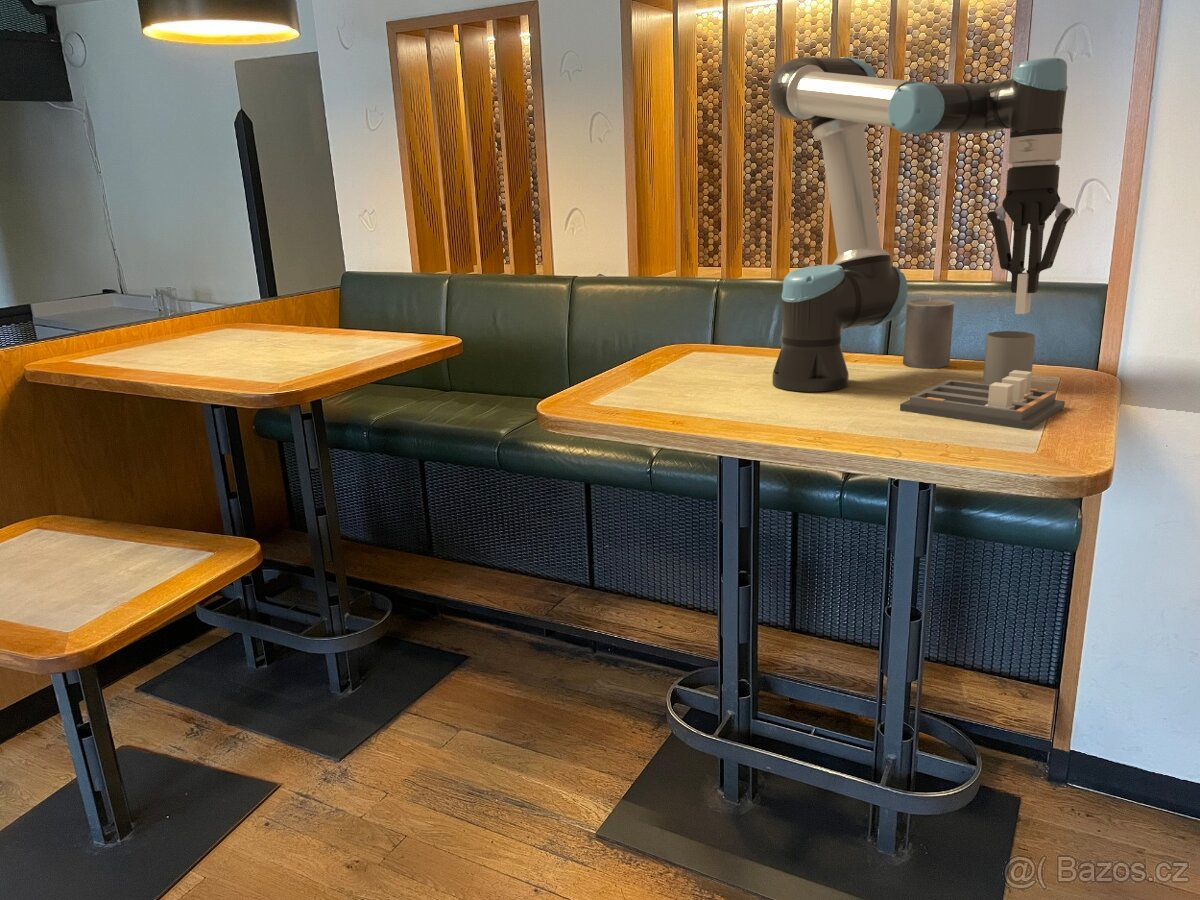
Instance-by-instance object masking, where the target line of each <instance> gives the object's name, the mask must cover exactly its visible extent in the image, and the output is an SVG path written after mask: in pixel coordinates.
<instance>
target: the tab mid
mask: <svg viewBox="0 0 1200 900" xmlns="http://www.w3.org/2000/svg"><path fill="white" fill-rule="evenodd" d="M1025 382H1026V378H1019V377H1010V376H1007V377H1005V378H1003V379H1002V383H1006V384H1014V389H1013V399H1012V401H1016V402H1023V403H1027V399H1024V391H1025Z"/></svg>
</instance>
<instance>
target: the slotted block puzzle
mask: <svg viewBox="0 0 1200 900" xmlns="http://www.w3.org/2000/svg"><path fill="white" fill-rule="evenodd" d="M1030 392H1033V396H1031V395H1029V394H1024V399H1027V403H1023V402H1016V401H1012V405H1014V406H1015V410H1013V409H1005V408H998V407H991V406H985V405H987V404H988V395H989V384H983V383H979V382H971V381H963V380H955V379H947V380H945V381H943V382H940V383H938V384H936V385H933V386H931V387H928V388H927V389H925V390H923V391H920V392H918V393H916V394H913V395H911V396H909V399H907V400H906V401H904V402H901V403H900V404H899V406H900V407H899V411H902V412H910V413H916V414H923V415H929V416H936V417H941V418H942V417H944V418H951V419H955V420H963V421H968V422H969V421H970V422H977V423H983V424H990V425H996V426H1001V427H1002V426H1003V427H1009V428H1016V429H1022V430H1023V429H1024V430H1028V431H1029V430H1031V429H1034V427H1036V426H1037V425H1038V426H1039V424H1041V423H1042V422H1044V421H1046V420H1047V419H1049V418H1050V417H1051V416H1054V415H1056V414H1057V413H1058V412H1060V411H1061V410H1063V409H1064V408H1065V404H1066V401H1065V400H1061V399H1060V400H1059V399H1056V398H1057V397H1056V396H1057V391H1054V390H1049V391H1047V390H1040V389H1039V388H1031V390H1030Z"/></svg>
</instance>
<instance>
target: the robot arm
mask: <svg viewBox="0 0 1200 900" xmlns="http://www.w3.org/2000/svg"><path fill="white" fill-rule="evenodd" d="M1067 64H1068V63H1067V62H1066V60H1064V59H1063V58H1057V57H1046V58H1045V57H1043V58H1036V59H1031V60H1025V61H1022V62H1019V63H1017V64H1016V65H1015V66H1014V70H1013V75H1012V78H1010V79H1006V80H1000V81H995V82H987V83H984V82H983V83H982V82H981V83H980V82H979V83H975V82H973V83H966V82H965V83H963V82H962V83H960V82H959V83H944V82H943V83H939V82H928V81H927V82H926V81H915V80H914V81H913V80H906V79H904V80H903V79H897V78H895V79H893V78H885V77H884V78H883V77H878V76H877V74H876V72H875V69H873V67H872V66H871V65H870V64H869V63H867V62H866V61H864V60H863V59H857V58H852V57H844V56H843V57H842V56H841V57H832V58H831V57H797V58H793V59H790V60H788V61H786V62H785V63H782V65H781V66H780V67H778V69H777V70H776V71H775V72H774V74H773V75H772V78H771V80H770V81H769V85H768V87H769V88H768V96H769V102H770V105H771V106H772V108H773V110H774V111H775V112H776V113H777V114H778V115H780V116H782V117H783V118H786V119H788V120H793V121H809V122H810V126H811V134H812V136H813V137H815V138H816V139H818V140H819V141H820V142H821V150H822V156H823V162H824V168H825V177H826V184H827V188H828V189H827V190H828V197H829V205H830V210H831V211H830V212H831V218H832V224H833V225H832V226H833V230H834V231H833V232H834V239H835V244H836V251H837V252H836V253H837V257H836V259H834V261H833V263H832V264H818V265H816V266H815V265H810V266H806V267H801V268H797V269H794V270H791V271H790V272H788V273H787V274H786V276H785V277H784V278H783V281H782V283H783V284H782V292H781V299H782V300H781V301H782V303H781V304H782V314H781V319H782V320H781V348H780V351H779V354H778V356H777V359H776V363H775V365H774V368H773V370H772V371H773V372H772V385H773V386H774V387H776V388H779V389H782V390H786V391H794V392H807V393H808V392H809V393H811V392H813V393H814V392H815V393H816V392H828V391H829V392H830V391H835V390H841V389H844V388H845V387H848V385H849V375H850V374H849V370H848V367H847V363H846V360H845V356H844V353H843V349H842V330H845V329H852V328H859V327H860V328H861V327H864V326H865V327H866V326H869V327H871V326H872V327H874V326H876V325H877V326H878V325H881V324H884V323H889V322H891V321H892V320H893V319H895V318H896V317H897V316H898V315H899V314H900V313H901V310H902V309H903V308H904V306H905V305H906V304H905V303H906V300H907V297H908V281H907V278H906V275H905V273H904V272H902V270H901V269H900V268H899V267H897V266H894V265H893V264H892V260H891V259H892V258H891V254H890V253H889V252H888V251H886V250H885V249H883V247H882V245H881V240H880V238H881V237H880V232H879V225H878V218H877V217H878V216H877V209H876V203H875V196H874V191H873V182H872V176H871V169H870V162H869V161H870V160H869V154H868V149H867V148H868V147H867V141H866V140H867V139H866V134H865V130H866V128H867V127H868V125H873V126H880V127H886V128H893V129H895V130H896V131H897V132H898V133H902V134H909V135H923V134H936V133H938V134H940V133H946V134H949V133H956V134H958V135H978V134H980V133H986V132H993V131H998V130H1004V129H1005V130H1006V129H1007V130H1008V129H1009V144H1008V160H1007V162H1008V164H1009V165H1011V167H1009V168H1008V169H1007V171H1006V172H1007V174H1006V184H1005V185H1006V186H1005V187H1006V188H1005V197H1004V199H1003V200H1002V204H1001V205H1000V206H999V207H997V208H996V209H994V210H992V211H989V212H988V213H987V218H988V220H989V222H990V224H991V225H992V228H993V229H992V230H993V234H994V239H995V245H996V250H997V256H998V263H999V267H1000V269H1001V270H1004V271H1008V272H1010V273H1011V282H1010V283H1011V284H1010V291H1011V292H1010V293H1012V294H1015V293H1016V295H1015V296H1016V298H1015V311H1014V314H1015V315H1026V314H1028V313H1029V314H1030V312H1031V303H1032V294H1035V293H1037V292H1038V290H1039V282H1040V281H1039V280H1040V279H1039V278H1040V273H1041V272H1043V271H1045V270H1048V269H1051V268H1052V267H1053V265H1054V262H1055V259H1056V256H1057V253H1058V251H1059V248H1060V244H1061V243H1062V238H1063V237H1064V232H1065V230H1066V227H1067V224H1068V222H1069V221H1070V220H1071V218H1072V217H1073V216H1074V215H1075V212H1076V210H1075V208H1073V207H1068V206H1067V205H1065V204H1064V203H1062V202H1061V197H1060V195H1059V192H1058V191H1059V190H1058V189H1059V179H1060V169H1061V168H1060V166H1059V164H1057V162H1058V161H1060V160H1061V158H1062V144H1063V122H1064V113H1065V105H1066V98H1067V91H1068V85H1067V84H1068V82H1067V81H1068V65H1067ZM1054 212H1055V214H1054V216H1055V217H1054V218H1055V221H1054V223H1053V225H1052V228H1051V230H1050V231H1051V232H1050V234H1049V237H1048V241H1047V243H1046V247H1045V249H1044V252H1043V243H1044V242H1043V241H1044V230H1045V227H1046V222H1047V221H1048V219H1049V218H1050V216H1052V214H1053V213H1054ZM1006 214H1007V215H1008V217H1009V218H1010V220H1011V221H1012V225H1013V228H1012V231H1013V239H1012V240H1013V242H1012V250H1011V246H1010V240H1009V234H1008V230H1007V229H1008V228H1007V224H1006V221H1005V219H1006V217H1007V215H1006ZM1028 230H1029V231H1030V235H1029V237H1030V238H1029V247H1028V248H1029V249H1028V264H1027V269H1026V268H1025V260H1026V259H1025V257H1026V246H1027V245H1026V244H1027V235H1028V234H1027V233H1028ZM1011 251H1012V252H1011ZM1042 252H1043V253H1042ZM1042 254H1043V255H1042ZM1025 270H1026V272H1025Z"/></svg>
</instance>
